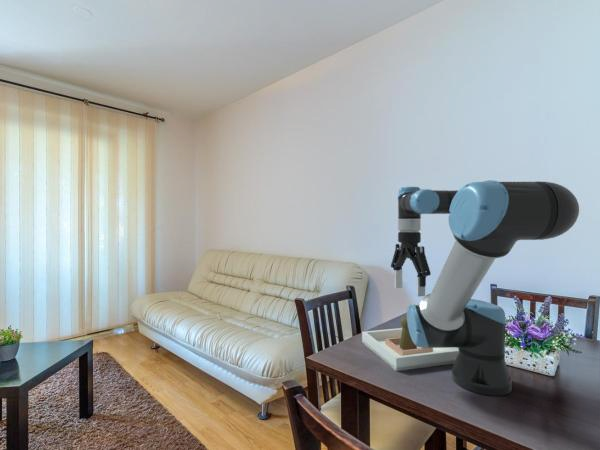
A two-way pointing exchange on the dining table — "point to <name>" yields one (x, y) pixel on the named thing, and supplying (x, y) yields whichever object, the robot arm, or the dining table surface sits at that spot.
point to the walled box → (405, 351)
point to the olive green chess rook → (406, 336)
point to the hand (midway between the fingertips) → (408, 291)
